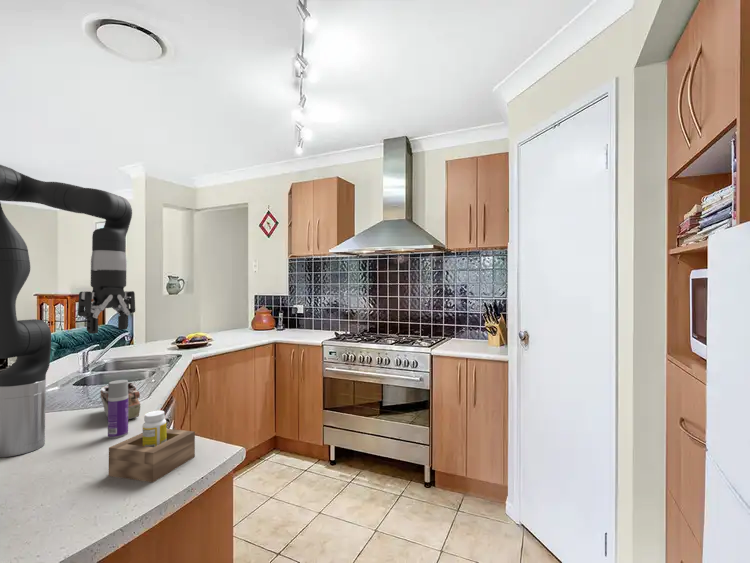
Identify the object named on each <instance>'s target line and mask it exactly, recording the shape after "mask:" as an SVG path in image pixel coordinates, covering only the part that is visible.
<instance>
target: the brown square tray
mask: <svg viewBox="0 0 750 563" xmlns="http://www.w3.org/2000/svg"><path fill="white" fill-rule="evenodd" d="M195 432H196V431H193V430H183V429H172V428H167V441H165V442H163V443H161V444H159V445H157V446H155V447H146V446H143V432H142V433H139V434H136V435H134V436H132V437H130V438H127V439H125V440H122V441H120V442H118V443H116V444H114V445H111V446H109V447H108V476H109V477H114V478H120V479H129V480H134V481H135V480H136V481H139V482H140V481H141V482H148V483H155V482H157V481H158V480H160V479H161V478H163V477H165V476H166V475H168V474H169V473H171V472H173V471H174V470H176V469H177V468H179V467H181V466H182V465H184V464H186V463H187V462H189V461H191V460H192V459H194V458H196V457H195V456H196V453H195V450H196V441H195V440H196V433H195Z"/></svg>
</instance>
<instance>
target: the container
mask: <svg viewBox="0 0 750 563" xmlns="http://www.w3.org/2000/svg"><path fill="white" fill-rule="evenodd" d="M128 383H129V380H128V379H117V380H113V381H109V382H108V385H109V391H108V417H107V439H111V440H112V439H118V438H119V439H120V438H123V437H125V436H127V435H129V420H128Z"/></svg>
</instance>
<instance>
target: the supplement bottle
mask: <svg viewBox="0 0 750 563" xmlns="http://www.w3.org/2000/svg"><path fill="white" fill-rule="evenodd" d="M143 418H144V423H143V424H142V433H143V446H146V447H155V446H157V445H159V444H161V443H163V442H165V441H167V429H168V428H167V420H166V417H165V411H164V410H152V411H149V412H146V413H145V414H144V417H143Z"/></svg>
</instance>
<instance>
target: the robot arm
mask: <svg viewBox="0 0 750 563" xmlns="http://www.w3.org/2000/svg"><path fill="white" fill-rule="evenodd" d="M1 201H2V202H16V203H19V202H21V203H35V204H39V205H40V204H41V205H44V206H47V207H51V208H54V209H57V210H62V211H66V212H71V213H76V214H82V215H87V216H91V217H95V218H99V219H103V220H105V222H104V225H103V227H102V228H97V229H95V230H94V231H93V232H92V235H91V236H92V237H91V239H92V240H91V241H92V242H91V251H92V252H91V256H90V258H91V259H90V287H91V288H92V291H89V290H88V291H86V290H85V291H84V290H83V291H80V292H79V293H78V306H77V316H78V317H83V318H85V319H86V331H87V332H88V334H98V333H99V318H98V317H99V315H100V313H101V312H103V311H104V310H105V309H110V308H111V309H113V310H114V311H116V313H117V322H118V323H117V328H118V330H119V331H121V330H122V331H124V330H128V327H129V316H130V315H131V314H133V313H136V297H135V296H136V294H135V291H133V290H131V291H130V290H129V291H127V290H126V291H125V290H124V288H125V287H126V286H127V255H126V236H127V234H128V231H129V229H130V228H129V227H130V225H131V220H132V218H133V209H132V205H131V203H130V201H128V199H126V198H125V197H123V196H120V195H117V194H114V193H113V192H109V191H107V190H102V189H97V188H93V187H92V188H90V187H82V186H79V185H75V184H70V183H65V182H59V181H44V180H39V179H37V178H33V177H31V176H28V175H25V174H23V173H22V172H19V171H17V170H14V169H13V168H11V167H8V166H5V165H2V164H0V359H10V358H16V360H15V361H14V362H13V363H12V364H11V365H10V366H9V367H8V368H6V369H4V370H2V371H0V458H6V457H14V456H19V455H23V454H27V453H28V454H29V453H31V452H33V451H36V450H39V449H41V448H43V447H44V446H45V444H46V443H45V442H46V401H47V400H46V392H47V390H46V384H47V380H46V376H47V372H48V370H49V368H50V364H51V363H50V362H51V352H52V332H51V331H52V330H51V328H50V326H49V325H48V323H47V322H45V321H44V320H41V319H38V318H37V319H36V318H35V319H33V318H32V319H22V320H21V319H19V320H18V317H17V310H16V309H17V308H16V304H17V298H18V295H19V293H20V292H21V290H22V288H23V286H24V285H25V283H26V281H28V280H27V279H28V278H29V276H30V272H31V262H30V261H31V260H30V255H29V249H28V246H27V243H26V242H25V240H24V238H23V237H22V236H21V234H20V233H19V231H18V230H17V229H16V228H15V227H14V225H13V224H12V222H10V220H9V219H8V218H7V216H6V214H5V212H4V210H3V207H2V202H1Z"/></svg>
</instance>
